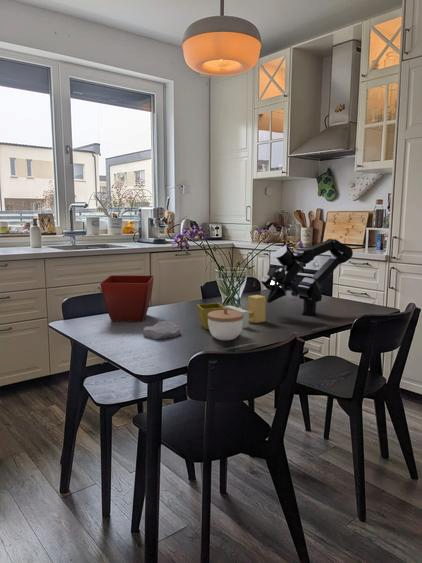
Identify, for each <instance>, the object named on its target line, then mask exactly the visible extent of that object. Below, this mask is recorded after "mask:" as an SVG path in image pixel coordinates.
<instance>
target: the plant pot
mask: <svg viewBox="0 0 422 563" xmlns="http://www.w3.org/2000/svg"><path fill="white" fill-rule="evenodd" d="M153 285H154V275H134V274H133V275H128V274H127V275H119V274H118V275H109V276H108V277H106V278H104V280H102V281H101V282H100V288H101V289H100V290H101V293H102V297H103V302H104V304H105V307H106V310H107V313H108V316H109V318H110V321H111V322H114V321H130V322H134V323H135V322H137V323H138V322H139V323H140V322H143V321H144V319H145V317H146V315H147V314H148V309H149V306H150V302H151V297H152V292H153Z"/></svg>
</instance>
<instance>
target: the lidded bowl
mask: <svg viewBox="0 0 422 563" xmlns="http://www.w3.org/2000/svg"><path fill="white" fill-rule="evenodd" d="M242 325H243V313H241V312H238V311H234V310H227V308H224V310H217V311H212V312H209V313H208V326H209V329H208V330H209V333H210V335H211V336H212V337H214V338H215V339H216V340H219V341H231V340H235V339H237V338H238V336H239V335H240V334H241V332H242V329H243V328H242Z"/></svg>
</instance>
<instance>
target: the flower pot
mask: <svg viewBox="0 0 422 563" xmlns="http://www.w3.org/2000/svg"><path fill="white" fill-rule="evenodd" d="M196 306H197V312H198V318H199V321H200V323H201V325H202V327H203V328H204V329H205V330H209V326H208V313H209V312H212V311H217V310H224V308H225V306H223V305H222V304H221V303H219V302H212V303H211V302H210V303H201V304H196Z"/></svg>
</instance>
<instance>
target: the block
mask: <svg viewBox="0 0 422 563" xmlns="http://www.w3.org/2000/svg"><path fill="white" fill-rule="evenodd" d="M266 302H267V299H266V296H264V295H259V294H253V295H248V296H247V311H249V322H251V323H255V324H256V323H264V322H266V309H267V308H266Z"/></svg>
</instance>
